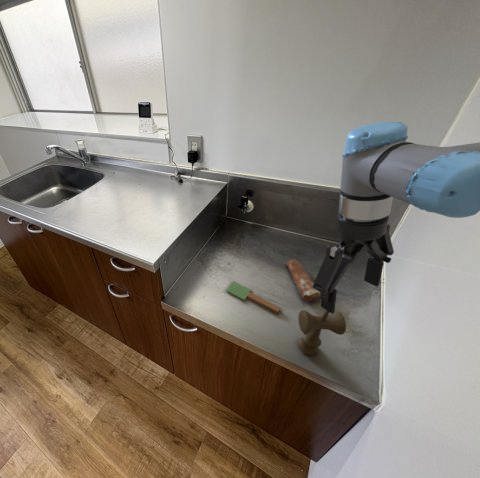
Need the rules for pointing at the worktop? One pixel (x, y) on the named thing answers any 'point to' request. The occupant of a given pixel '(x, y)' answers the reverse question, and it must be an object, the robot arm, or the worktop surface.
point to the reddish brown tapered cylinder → (303, 281)
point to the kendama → (318, 329)
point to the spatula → (251, 297)
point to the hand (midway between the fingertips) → (349, 295)
